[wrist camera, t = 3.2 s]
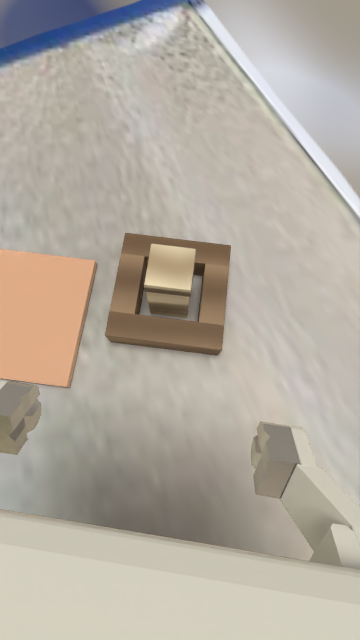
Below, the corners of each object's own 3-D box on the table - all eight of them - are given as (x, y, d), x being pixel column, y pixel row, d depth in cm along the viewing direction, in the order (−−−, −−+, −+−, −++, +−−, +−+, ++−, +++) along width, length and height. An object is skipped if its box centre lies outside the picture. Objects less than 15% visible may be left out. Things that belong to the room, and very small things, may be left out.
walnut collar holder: (217, 355, 33) (221, 349, 30) (110, 341, 33) (104, 335, 30) (226, 258, 36) (230, 245, 34) (129, 246, 37) (125, 232, 34)
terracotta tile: (69, 387, 32) (66, 386, 31) (-65, 370, 32) (-72, 369, 31) (97, 264, 36) (95, 260, 35) (-22, 250, 36) (-28, 245, 35)
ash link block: (187, 318, 34) (191, 290, 27) (150, 313, 34) (143, 285, 27) (191, 284, 35) (196, 248, 28) (155, 279, 36) (150, 242, 28)
